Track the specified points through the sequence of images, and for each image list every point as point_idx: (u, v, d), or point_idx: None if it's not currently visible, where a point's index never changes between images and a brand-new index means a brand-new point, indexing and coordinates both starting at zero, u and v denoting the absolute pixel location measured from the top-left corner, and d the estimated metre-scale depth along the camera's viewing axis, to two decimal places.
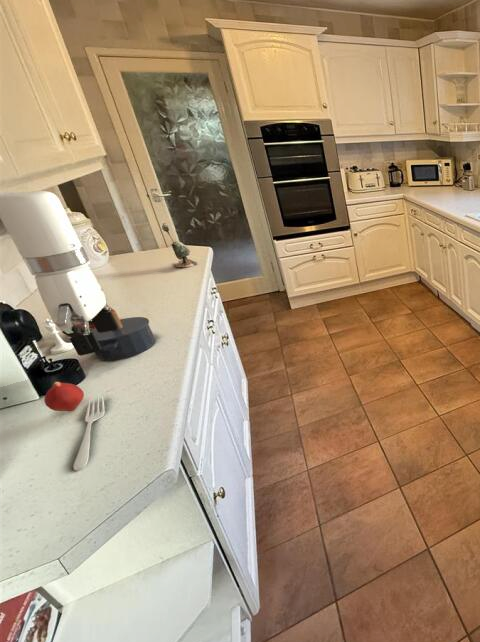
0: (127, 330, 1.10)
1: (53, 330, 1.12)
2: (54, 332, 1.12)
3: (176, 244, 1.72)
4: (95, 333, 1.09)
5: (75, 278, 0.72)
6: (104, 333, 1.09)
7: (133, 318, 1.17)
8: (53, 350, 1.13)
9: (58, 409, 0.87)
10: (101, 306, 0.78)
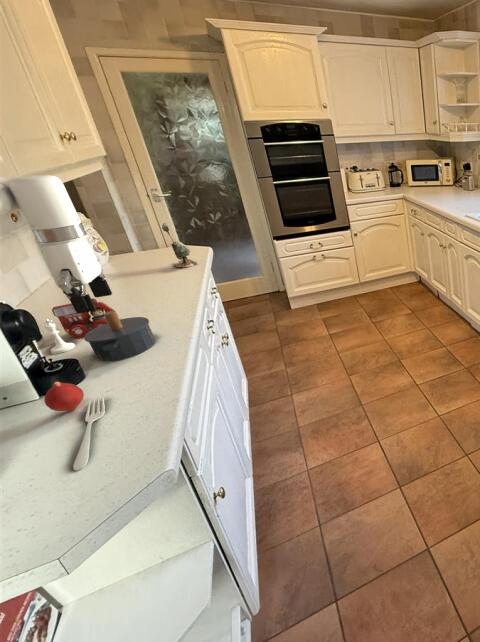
0: (127, 330, 1.10)
1: (53, 330, 1.12)
2: (54, 332, 1.12)
3: (176, 244, 1.72)
4: (95, 333, 1.09)
5: (75, 248, 0.86)
6: (104, 333, 1.09)
7: (133, 318, 1.17)
8: (53, 350, 1.13)
9: (58, 409, 0.87)
10: (97, 274, 0.92)
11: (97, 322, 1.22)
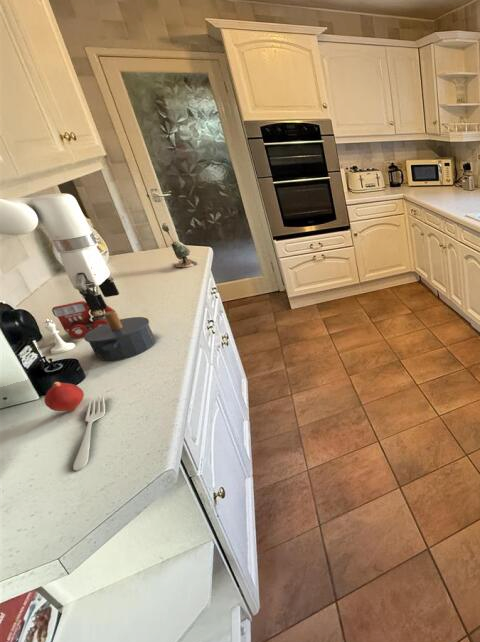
0: (127, 330, 1.10)
1: (53, 330, 1.12)
2: (54, 332, 1.12)
3: (176, 244, 1.72)
4: (95, 333, 1.09)
5: (88, 255, 1.01)
6: (104, 333, 1.09)
7: (133, 318, 1.17)
8: (53, 350, 1.13)
9: (58, 409, 0.87)
10: (106, 276, 1.07)
11: (97, 322, 1.22)
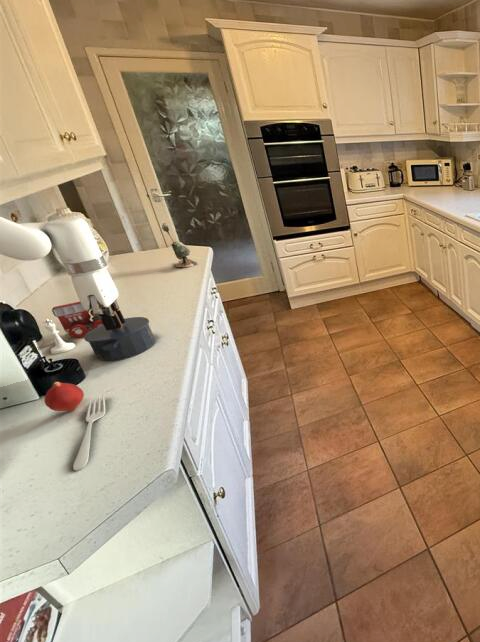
0: (127, 330, 1.10)
1: (53, 330, 1.12)
2: (54, 332, 1.12)
3: (176, 244, 1.72)
4: (95, 333, 1.09)
5: (98, 277, 1.03)
6: (104, 333, 1.09)
7: (133, 318, 1.17)
8: (53, 350, 1.13)
9: (58, 409, 0.87)
10: (115, 297, 1.10)
11: (97, 322, 1.22)
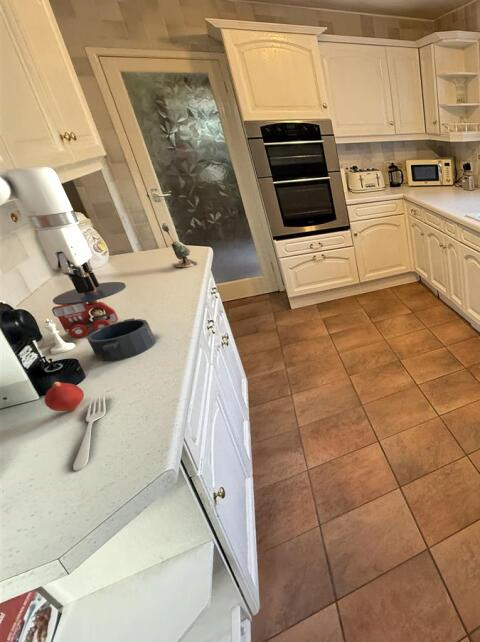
0: (101, 293, 1.01)
1: (53, 330, 1.12)
2: (54, 332, 1.12)
3: (176, 244, 1.72)
4: (65, 296, 1.00)
5: (68, 233, 0.95)
6: (75, 296, 1.00)
7: (108, 283, 1.08)
8: (53, 350, 1.13)
9: (58, 409, 0.87)
10: (87, 257, 1.01)
11: (97, 322, 1.22)
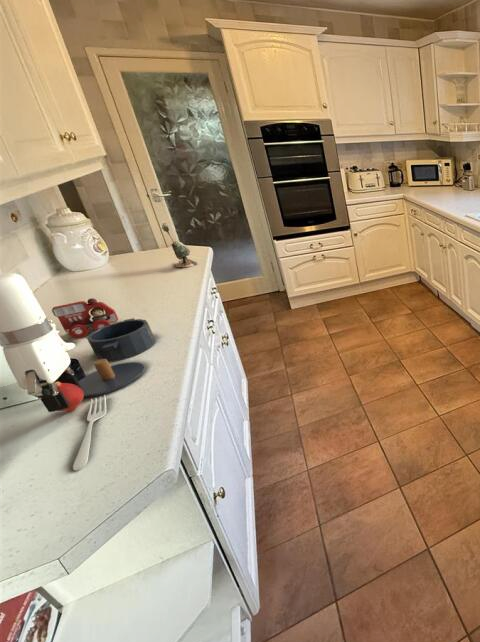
0: (120, 380, 0.98)
1: None
2: (54, 332, 1.12)
3: (176, 244, 1.72)
4: (84, 384, 0.97)
5: (39, 347, 0.82)
6: (94, 385, 0.97)
7: (127, 364, 1.05)
8: None
9: None
10: (65, 367, 0.88)
11: (97, 322, 1.22)
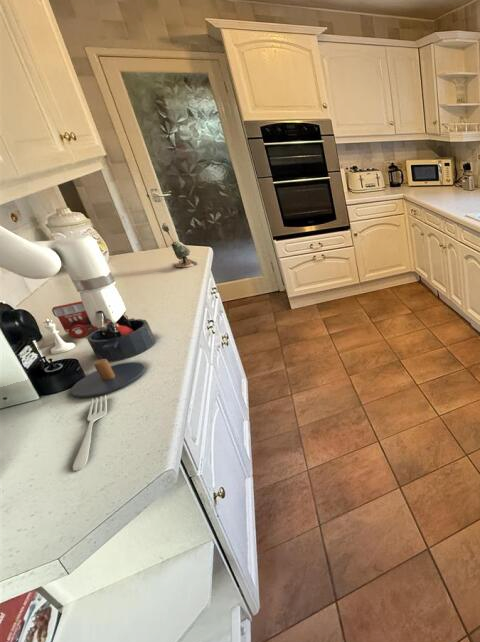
0: (120, 380, 0.98)
1: (53, 330, 1.12)
2: (54, 332, 1.12)
3: (176, 244, 1.72)
4: (84, 384, 0.97)
5: (106, 294, 1.05)
6: (94, 385, 0.97)
7: (127, 364, 1.05)
8: (53, 350, 1.13)
9: None
10: (122, 312, 1.12)
11: None
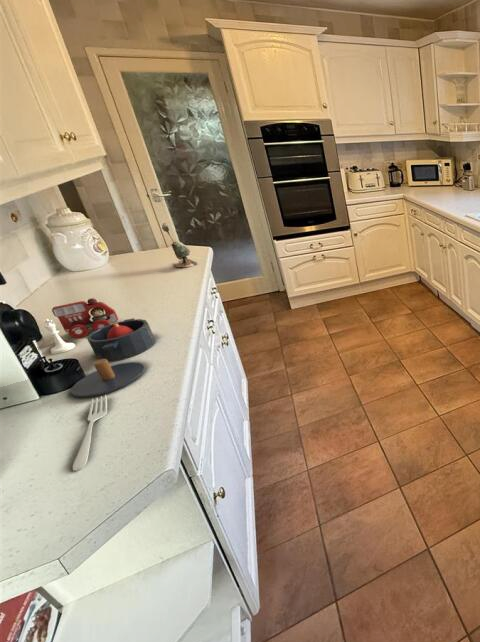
0: (120, 380, 0.98)
1: (53, 330, 1.12)
2: (54, 332, 1.12)
3: (176, 244, 1.72)
4: (84, 384, 0.97)
5: None
6: (94, 385, 0.97)
7: (127, 364, 1.05)
8: (53, 350, 1.13)
9: None
10: None
11: (97, 322, 1.22)
